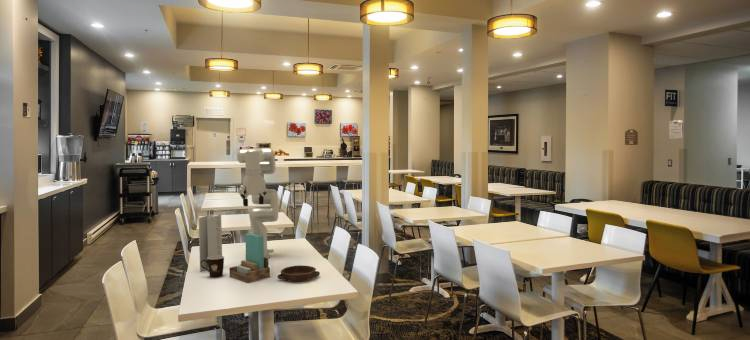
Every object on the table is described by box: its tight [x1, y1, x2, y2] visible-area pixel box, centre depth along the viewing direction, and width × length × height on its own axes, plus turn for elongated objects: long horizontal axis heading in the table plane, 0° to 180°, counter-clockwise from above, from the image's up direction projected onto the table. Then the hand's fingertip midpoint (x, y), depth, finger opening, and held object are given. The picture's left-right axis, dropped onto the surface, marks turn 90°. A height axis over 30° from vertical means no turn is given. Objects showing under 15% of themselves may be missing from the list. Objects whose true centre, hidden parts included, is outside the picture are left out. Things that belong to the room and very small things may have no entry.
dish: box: [276, 264, 320, 283], centre depth 245 cm, size 18×22×5 cm
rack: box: [228, 257, 271, 284], centre depth 248 cm, size 14×16×10 cm
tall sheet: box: [244, 232, 264, 270], centre depth 250 cm, size 3×12×22 cm, turn 49°
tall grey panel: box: [198, 213, 223, 273], centre depth 264 cm, size 14×6×30 cm, turn 168°
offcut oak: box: [240, 259, 258, 271], centre depth 248 cm, size 2×12×8 cm, turn 49°
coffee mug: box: [199, 255, 225, 278], centre depth 251 cm, size 12×9×10 cm
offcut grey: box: [236, 265, 251, 275], centre depth 245 cm, size 2×10×6 cm, turn 49°
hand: (253, 205), depth 248 cm, fingers open, 9 cm apart
